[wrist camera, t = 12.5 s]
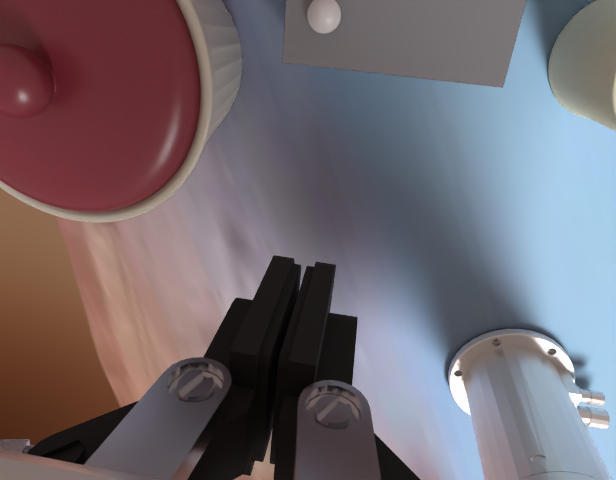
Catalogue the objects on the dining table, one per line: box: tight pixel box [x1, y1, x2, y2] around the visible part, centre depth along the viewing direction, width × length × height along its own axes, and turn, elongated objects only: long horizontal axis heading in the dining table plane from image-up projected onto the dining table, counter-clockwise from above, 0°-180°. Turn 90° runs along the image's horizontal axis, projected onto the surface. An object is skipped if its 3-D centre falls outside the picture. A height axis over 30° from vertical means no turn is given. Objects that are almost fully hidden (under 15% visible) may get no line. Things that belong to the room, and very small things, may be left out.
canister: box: [0, 0, 243, 222], centre depth 31 cm, size 18×18×21 cm
